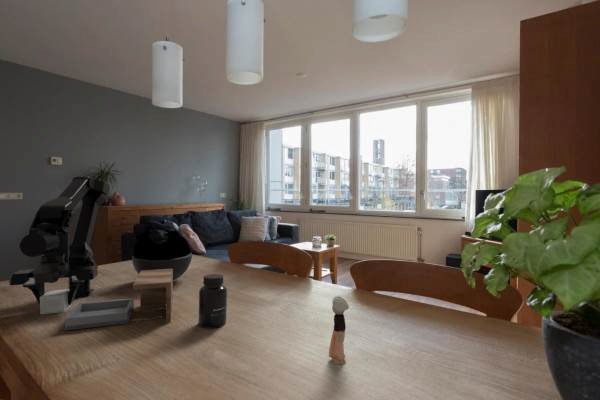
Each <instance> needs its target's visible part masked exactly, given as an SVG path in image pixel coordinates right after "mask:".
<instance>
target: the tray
mask: <svg viewBox="0 0 600 400" xmlns="http://www.w3.org/2000/svg"><path fill="white" fill-rule="evenodd" d="M133 310H135V298H133V297H132V298H125V299H124V298H122V299H121V298H120V299H112V300H111V299H110V300H102V301H101V300H100V301H90V302H79V303H78V304H77V305H76V306H75V307H74V309H73V310H71V312H70V313H69V314H68V315H66V317H65V318H64V327H65V329H64V331H73V330H83V329H91V328H100V327H108V326H118V325H123V324H124V325H125V324H126V325H127V324H128V323H129V322H128V321H129V320H131V317H132V314H133V313H134V312H133Z"/></svg>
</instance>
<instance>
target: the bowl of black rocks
mask: <svg viewBox="0 0 600 400" xmlns="http://www.w3.org/2000/svg"><path fill="white" fill-rule="evenodd" d="M150 233H151V232H150V230H148V229H147V230H146V229H145V230H144V231H143V232H142V233H141V234H138V236H136V238H135V239H136V240H137V241H136V242H135V244H134V248H133V251H132V252H133V256H132V257H131V261H132V264H133V268H134V270H135V271H136V272H137V274H138V275H139V273H140V272H141V271H144V270H160V269H173V281H175V280H177V279H179V278H180V277H182V275H184V273H185V272H187V270H188V269H189V266H190V265H191V262H192V258H193V253H192V251H191V248H190V246H189V245H188V244H189V243H188V242H187V239H186V237H184V236H182V235H181V234H180V232H179V231H178V230H171V231H167V232H166V233H163V236H165V237H168V238H166V240H165V241H162V243H158V242H155V241H152V239H151V238H150V237H149V235H150Z"/></svg>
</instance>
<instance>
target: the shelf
mask: <svg viewBox="0 0 600 400" xmlns="http://www.w3.org/2000/svg"><path fill="white" fill-rule="evenodd" d="M173 285H174V280H173V269H160V270H144V271H141V272H140V273H139V274H138V275H137V277H136V279H135V281H134V282H133V284H132V290H133V291H137V290H139V291H140V295H139V296H140V297H139V298H140V300H139V301H140V305H139V306H140V308H146V307H154V306H155V307H156V306H163V305H165V307H166V310H165V311H166V312H165V313H166V315H165V316H166V319H165V320H166V324H167V323H168V324H169V323H171V322H172V312H173V301H174V300H173V298H174V294H173V293H174V291H173V288H174V286H173Z"/></svg>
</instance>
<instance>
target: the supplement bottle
mask: <svg viewBox="0 0 600 400" xmlns="http://www.w3.org/2000/svg"><path fill="white" fill-rule="evenodd" d="M223 284H224V275H223V274H221V273H212V274H206V275H203V281H202V285H203V286H201V287H200V289H199V290H198V291H199V292H198V325H199V326H200V327H201V328H205V329H216V328H220V327H222V326H224V325H225V324H226V322H227V316H228V315H227V314H228V313H227V312H228V308H227V307H228V289H227V287H226V286H225V285H223Z"/></svg>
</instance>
